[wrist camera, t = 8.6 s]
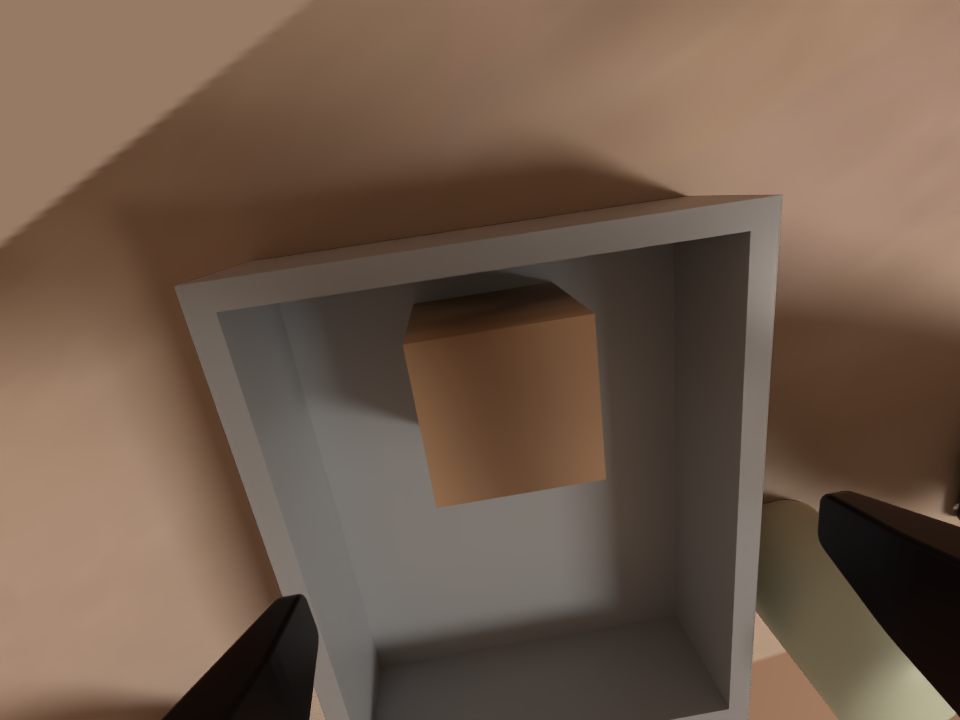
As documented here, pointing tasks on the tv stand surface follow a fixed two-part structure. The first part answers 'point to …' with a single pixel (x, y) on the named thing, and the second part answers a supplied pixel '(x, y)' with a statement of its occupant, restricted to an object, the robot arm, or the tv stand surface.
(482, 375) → the walnut cube
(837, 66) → the tv stand surface
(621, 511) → the tote
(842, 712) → the sage capsule
